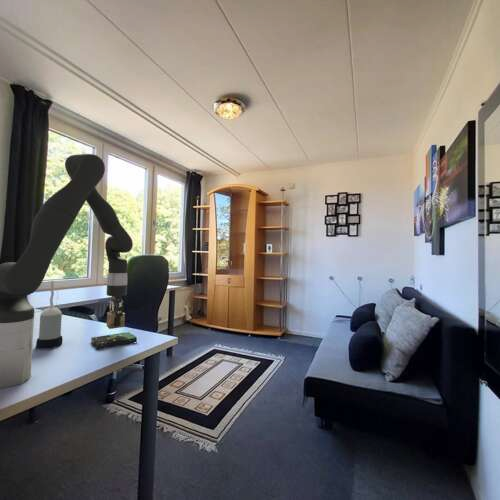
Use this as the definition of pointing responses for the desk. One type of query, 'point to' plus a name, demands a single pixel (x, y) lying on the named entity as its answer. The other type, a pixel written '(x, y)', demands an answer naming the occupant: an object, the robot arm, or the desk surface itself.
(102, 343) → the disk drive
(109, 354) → the desk surface
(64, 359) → the desk surface
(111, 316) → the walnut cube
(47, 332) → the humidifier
